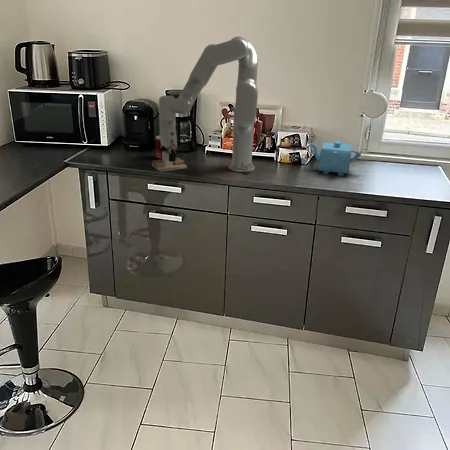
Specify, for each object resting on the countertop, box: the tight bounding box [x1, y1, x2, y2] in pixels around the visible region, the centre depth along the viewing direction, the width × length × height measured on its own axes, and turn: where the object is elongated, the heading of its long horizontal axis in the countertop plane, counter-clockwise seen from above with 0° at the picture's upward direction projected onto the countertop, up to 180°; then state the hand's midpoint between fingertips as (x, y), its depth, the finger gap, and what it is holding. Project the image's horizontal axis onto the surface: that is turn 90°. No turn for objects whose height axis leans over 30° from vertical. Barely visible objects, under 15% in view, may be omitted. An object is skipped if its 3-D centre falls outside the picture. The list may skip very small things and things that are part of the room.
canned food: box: [155, 135, 173, 161], centre depth 245 cm, size 8×8×11 cm
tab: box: [161, 150, 173, 166], centre depth 234 cm, size 4×4×7 cm
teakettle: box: [308, 139, 362, 177], centre depth 234 cm, size 19×19×15 cm
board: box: [151, 157, 188, 173], centre depth 235 cm, size 10×14×2 cm
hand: (168, 158), depth 235 cm, fingers open, 9 cm apart
